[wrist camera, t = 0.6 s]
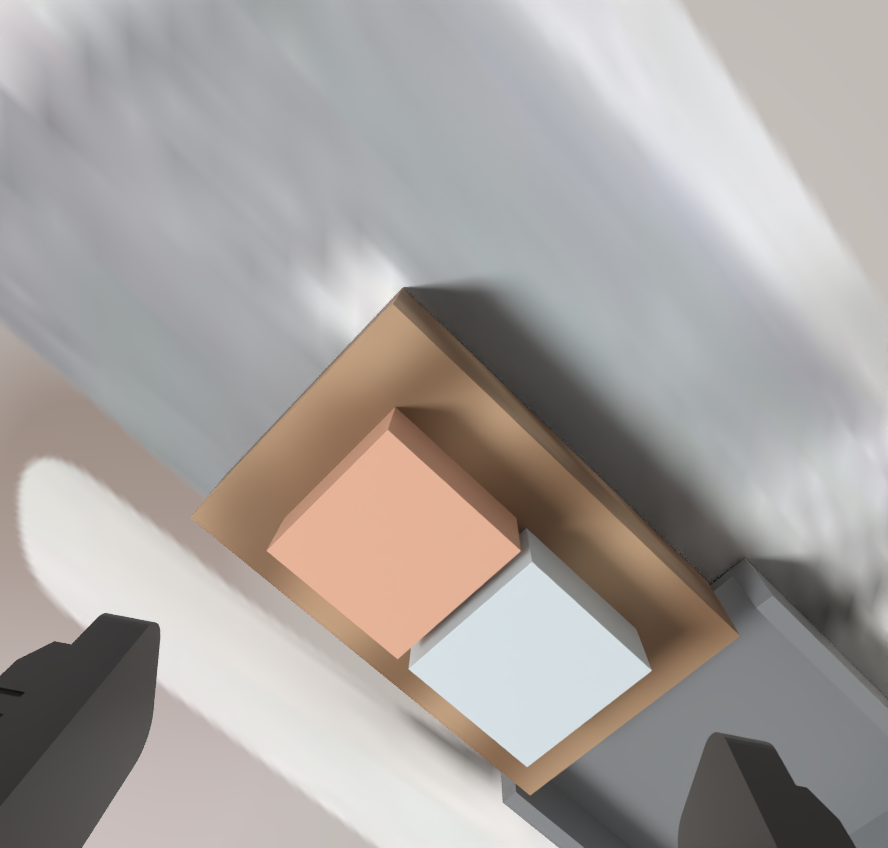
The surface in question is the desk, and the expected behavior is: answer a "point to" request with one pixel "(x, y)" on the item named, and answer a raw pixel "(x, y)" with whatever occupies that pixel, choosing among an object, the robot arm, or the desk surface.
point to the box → (736, 713)
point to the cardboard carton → (505, 477)
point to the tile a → (396, 535)
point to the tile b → (531, 653)
